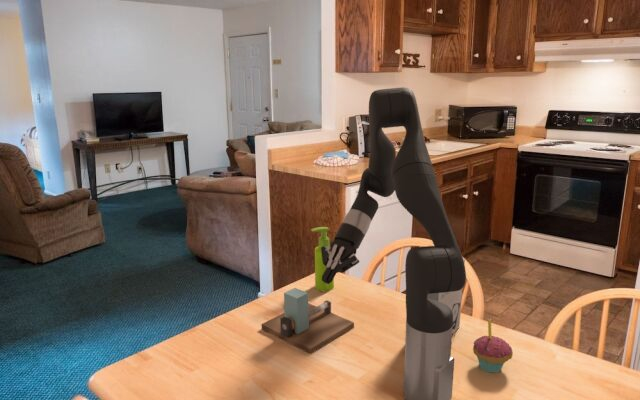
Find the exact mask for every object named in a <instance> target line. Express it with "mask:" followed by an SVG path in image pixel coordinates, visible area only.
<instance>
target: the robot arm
mask: <svg viewBox="0 0 640 400" xmlns="http://www.w3.org/2000/svg"><path fill="white" fill-rule="evenodd" d="M419 112H420V111H419V107H418V103H417V98H416V96H415V94H414V91H413V90H412V89H411V88H410V87H405V86H404V87H402V86H401V87H392V88H382V89H381V88H380V89H376V90H374V91H373V92H371V93H370V97H369V100H368V127H369V128H368V130H369V131H368V132H369V143H370V144H369V145H370V147H369V148H370V149H369V156H368V157H369V159H368V167H367V168H365V169H364V170H363V172H362V174H361V178H360V182H359V183H360V184H359V188H358V192H357V194H356V197H355V199H354V201H353V203H352V205H351V207H350V208H349V211H347V213H346V215H345V216H344V218H343V220H342V222H341V223H340V225H339V227H338V229H337V231H336V233H335V235H334V239H333V240H332V241H331V242H330V246H328V247H324V246H323V247H322V248H321V252H322V261H323V264H324V265H325V266H326V270H325V272H324V273H323V275H322V281H323V282H324V283H327V284H330V283H331V282H332V281H333V279H335V276H336V274H337V273H342V274H343V273H345V272H347V271H348V270H350V269H352V268H354V267H355V266H356V265H358V264H359V263H360V260H359V258H358V257H357V255H356V254H357V249H359V248H360V246H361V245H362V242H363V240H364V239H365V237H366V234H367V233H368V231H369V228H370V225H371V223H372V221H373V219H374V217H375V215H376V214H377V212H378V209H379V202H378V201H377V200H376V199H375V198H373V196H371V195H370V194H369V192H371V193H373V194H375V195H378V196H380V197H382V198H388V197H390V196H392V195H393V194H394V192H395V196H396V199H397V201H398V202H399V203H400V204H401V206H402V207H403V208H404V209H405V210H406V211H407V212H408V213H409V214H410V215H411V216H412V217H413V218H414V219H415V220H416V221H417V222H418V223H419V224H420V225H422V226H423V228H424V229H425V230H426V232H427V234H428V236H429V237H430V240H431V242H432V244H433V245H431V246H430V245H427V246H426V245H425V246H416V247H412V248H410V249H409V250H408V252H407V254H406V256H405V257H406V258H405V263H404V264H405V309H406V310H405V312H406V315H405V316H406V318H405V319H406V320H405V321H406V322H405V344H404V345H405V346H404V365H403V366H404V369H403V372H404V373H403V396H404V398H405V399H406V400H451V399H452V398H453V386H454V384H453V383H454V371H455V357H454V356H451V352H452V338H453V337H452V336H453V334H452V326H453V313H452V310H451V309H450V308H449V307H448V306H447V305H445V304H444V303H441V302H439V301H436V300H432V299H429V298H427V296H428V294H432V293H444V292H453V291H459V290H461V289H462V290H463V288H464V286H465V285H466V279H467V272H466V266H465V264H464V261H463V258H464V256H463V254H462V252H461V249H460V246H459V244H458V241H457V238H456V236H455V234H454V231H453V228H452V225H451V223H450V221H449V219H448V218H449V217H448V216H447V213H446V212H447V211H446V209H445V207H444V202H443V199H442V195H441V191H440V188H439V183H438V179H437V176H436V173H435V170H434V166H433V163H432V159H431V157H430V154H429V150H428V147H427V145H426V141H425V136H424V133H423V127H422V122H421V117H420V113H419ZM396 127H397V128H399V127H403V128H404V129H405V136H404V138H403V141H402V144H401V146H400V148H399V150H398V152H396V148H395V144H394V143H393V141H392V140H391V139H390V137H388V136H387V135H386V134H385V132H384V130H383V128H384V129H386V128H387V129H388V128H396ZM330 252H331V254H330ZM329 255H330V256H329Z"/></svg>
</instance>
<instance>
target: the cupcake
mask: <svg viewBox="0 0 640 400" xmlns="http://www.w3.org/2000/svg"><path fill="white" fill-rule="evenodd" d="M487 327H488V328H487V329H488V335H484V336H483V335H482V336H480V337H479V338H476V339H475V340H474V341H473V348H472V351H473V354H474V355H475V356H476V358H477V360H478V361H477V362H478V364H479V368H480V369H482V370H483V371H484V372H487V373H493V374H496V373H499V372H501V370H502V369H503V366H504V364H505V363H507V362H508V361H509V360H511V359H512V358H513V349H512V346H511V345H510V343H508V342H506V341H505V340H504V339H503V338H501V337H499V336H496V335H495V336H494V335H492V319H491V317H490V316H489V315H488V319H487Z"/></svg>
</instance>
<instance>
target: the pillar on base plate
mask: <svg viewBox="0 0 640 400" xmlns="http://www.w3.org/2000/svg"><path fill="white" fill-rule="evenodd" d="M308 306H309V328H308V329H307V330H305V331H303V332H301V333H299V334H297V333H295V332H294V328H295V323H294V321H293V320H292V319H291V318H286V317H285V312H283V313H281V314H279V315H277V316H275V317H272V318H271V319H269V320H267V321H265V322H263V323H261V330H263V331H265V332H266V333H269V334H270V335H273V336H274V337H276V338H278V339H280V340H282V341H284V342H286V343H287V344H290V345H292V346H294V347H296V348H298V349H299V350H301V351H304V352H305V353H307V354H309V355H312V354H314V353H315V352H316V351H318V350H319V349H321V348H322V347H325V346H326V345H328V344H329V343H331V342H333V341H334V340H336V339H337V338H340V336H342V335H344V334H346V333H348V332H349V331H350V330H353V328H354V327H355V323H354V321H352V320H349V319H347V318H345V317H342V316H340V315H338V314H335V313H333V312H332V302H331V301H329V300H327V299H326V300H324V301H323V303H321V304H319V305H314V304H311V303H309V302H308Z"/></svg>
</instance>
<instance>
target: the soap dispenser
mask: <svg viewBox="0 0 640 400" xmlns="http://www.w3.org/2000/svg"><path fill="white" fill-rule="evenodd" d="M310 231H312V233H317V232H321V233H320V234H321V236H319V237H318V246H315V248H314V278H315V279H314V282H315V285H314V287H315V289H316V291H319V292H330V291H332V290H333V289H334V287H335V286H334V285H335V282H334V281H335V280H334V279H335V278H334V279H333V281H332V282H331V283H330V284H327V283H324V282H323V281H322V275H323V273H324V272H325V270H326V266H325V265H324V264H323V261H322V252H321V248H322V247H323V246H324V247H328V246H330V244H331V242H330V240H331V239H330V236H328V235H327V234H328V232H327V231H330V227H328V226H318V227H314V228H311V229H310ZM330 254H331V252H330ZM329 256H330V255H329Z"/></svg>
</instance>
